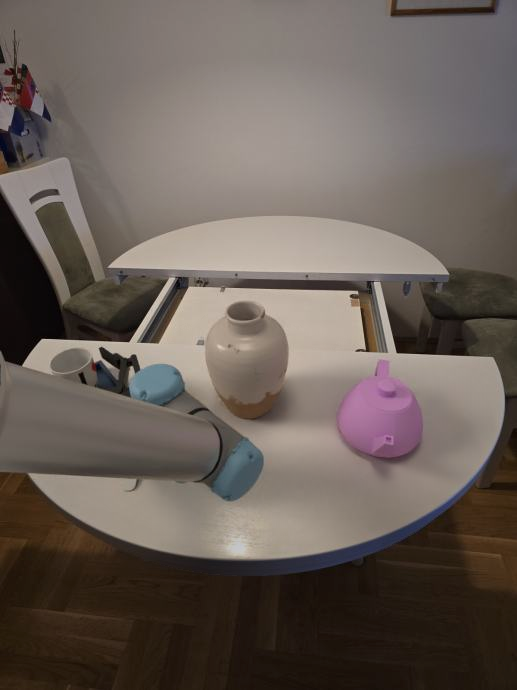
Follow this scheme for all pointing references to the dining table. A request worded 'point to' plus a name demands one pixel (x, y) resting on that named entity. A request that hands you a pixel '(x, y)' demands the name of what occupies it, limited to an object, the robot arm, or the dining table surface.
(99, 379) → the tray
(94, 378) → the cup
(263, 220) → the dining table surface
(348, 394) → the teapot
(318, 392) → the dining table surface
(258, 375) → the vase
